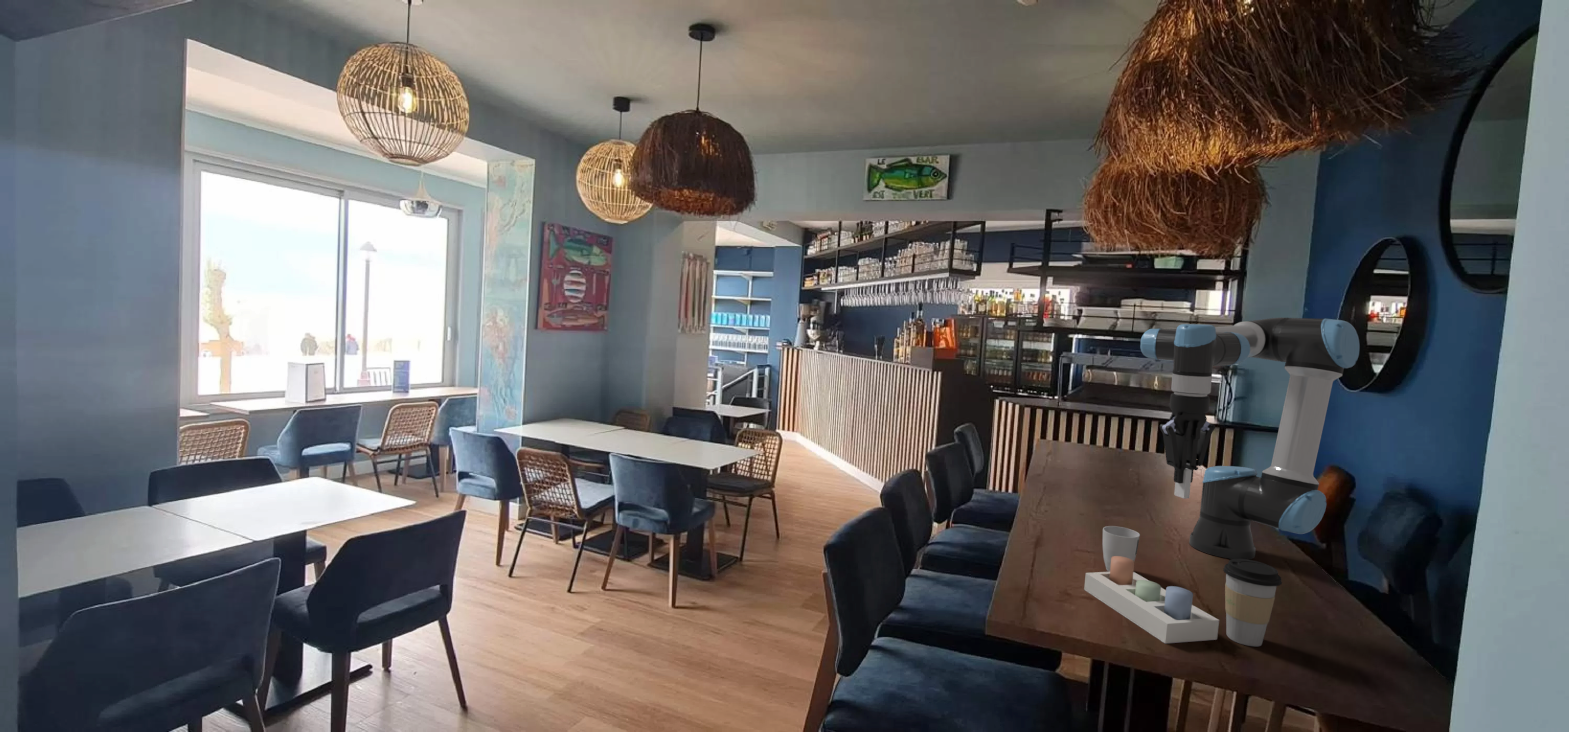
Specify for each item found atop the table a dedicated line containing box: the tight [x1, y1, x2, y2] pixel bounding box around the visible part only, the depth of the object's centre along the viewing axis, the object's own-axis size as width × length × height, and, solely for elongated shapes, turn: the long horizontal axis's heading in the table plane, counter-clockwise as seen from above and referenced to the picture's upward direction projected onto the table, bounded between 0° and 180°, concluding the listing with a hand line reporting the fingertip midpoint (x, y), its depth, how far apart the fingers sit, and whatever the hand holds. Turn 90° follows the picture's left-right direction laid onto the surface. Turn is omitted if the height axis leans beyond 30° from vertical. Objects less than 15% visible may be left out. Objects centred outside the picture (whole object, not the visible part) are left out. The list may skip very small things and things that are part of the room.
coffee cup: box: [1222, 559, 1283, 647], centre depth 130 cm, size 9×9×15 cm
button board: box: [1083, 571, 1220, 644], centre depth 140 cm, size 12×24×4 cm, turn 12°
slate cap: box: [1164, 585, 1194, 620], centre depth 132 cm, size 5×5×5 cm
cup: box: [1102, 525, 1141, 572], centre depth 163 cm, size 8×8×10 cm
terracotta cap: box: [1109, 556, 1135, 585], centre depth 148 cm, size 5×5×5 cm
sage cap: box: [1135, 579, 1162, 602], centre depth 140 cm, size 5×5×5 cm
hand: (1181, 496), depth 150 cm, fingers closed
